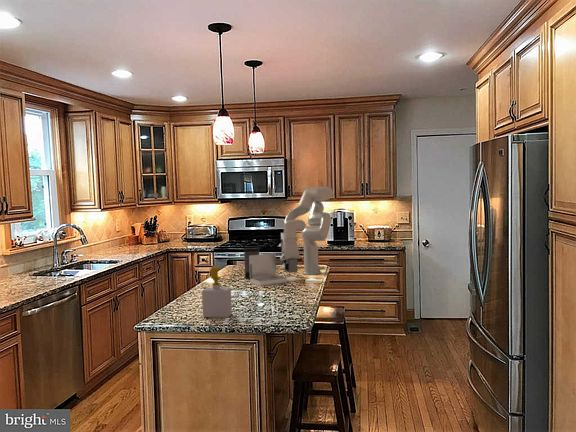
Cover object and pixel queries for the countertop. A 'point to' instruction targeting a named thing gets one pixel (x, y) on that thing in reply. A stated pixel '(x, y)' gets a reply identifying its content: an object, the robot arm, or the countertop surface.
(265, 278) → the case
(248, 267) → the electronic device
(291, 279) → the flat beige panel
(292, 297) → the countertop surface
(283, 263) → the speaker
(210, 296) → the soap bottle
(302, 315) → the countertop surface
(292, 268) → the block
